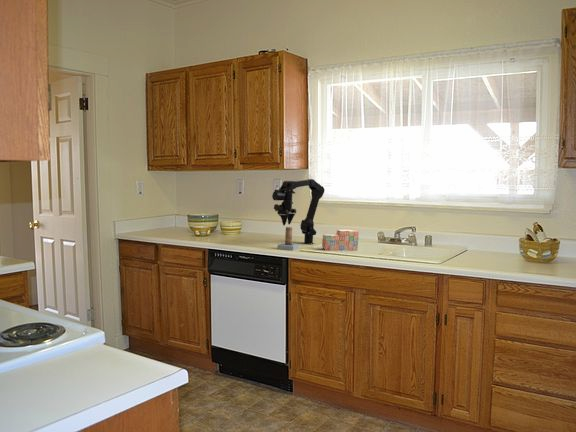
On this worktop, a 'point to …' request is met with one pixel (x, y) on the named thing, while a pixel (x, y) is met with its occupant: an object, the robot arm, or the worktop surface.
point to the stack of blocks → (341, 240)
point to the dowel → (288, 236)
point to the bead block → (288, 246)
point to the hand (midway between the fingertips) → (286, 224)
